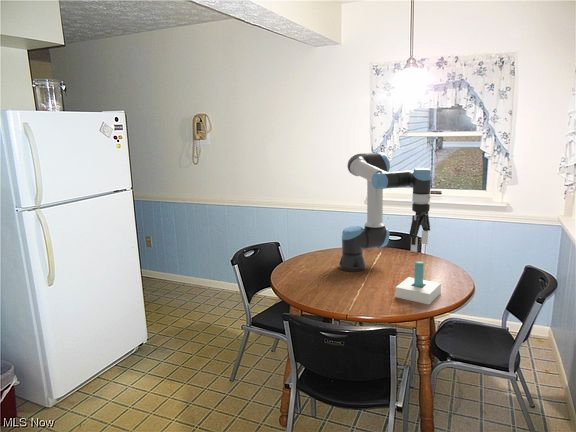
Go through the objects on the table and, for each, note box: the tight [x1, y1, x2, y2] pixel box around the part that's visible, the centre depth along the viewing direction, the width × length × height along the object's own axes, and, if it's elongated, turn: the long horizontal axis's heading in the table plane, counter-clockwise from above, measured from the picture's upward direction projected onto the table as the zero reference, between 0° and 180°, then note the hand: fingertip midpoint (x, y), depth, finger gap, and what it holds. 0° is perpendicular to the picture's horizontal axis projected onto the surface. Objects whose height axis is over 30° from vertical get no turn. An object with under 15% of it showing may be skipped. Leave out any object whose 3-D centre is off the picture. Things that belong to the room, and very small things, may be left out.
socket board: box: [394, 276, 442, 305], centre depth 201 cm, size 16×16×5 cm
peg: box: [413, 261, 425, 288], centre depth 200 cm, size 4×4×16 cm
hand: (419, 247), depth 197 cm, fingers open, 13 cm apart
